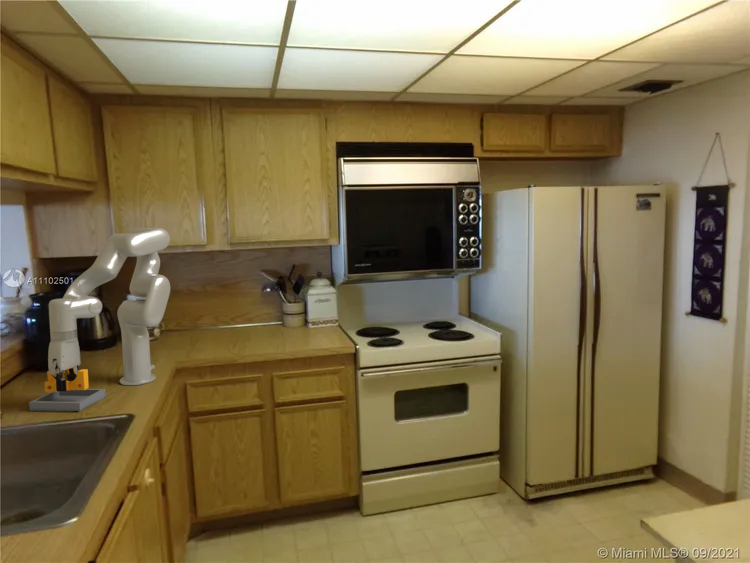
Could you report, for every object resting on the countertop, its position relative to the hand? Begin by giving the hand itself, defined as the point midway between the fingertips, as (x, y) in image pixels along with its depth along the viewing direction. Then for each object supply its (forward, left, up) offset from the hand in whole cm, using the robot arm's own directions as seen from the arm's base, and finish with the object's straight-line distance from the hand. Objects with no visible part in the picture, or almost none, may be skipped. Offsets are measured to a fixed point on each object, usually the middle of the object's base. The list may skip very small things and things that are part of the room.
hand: (67, 388), depth 168 cm
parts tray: (0, 0, -6) cm, 6 cm away
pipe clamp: (0, 0, -1) cm, 1 cm away
